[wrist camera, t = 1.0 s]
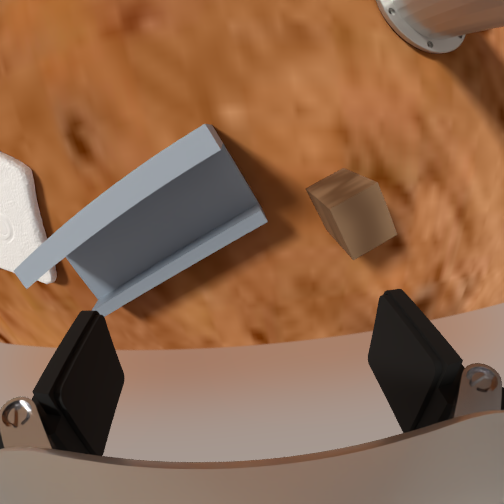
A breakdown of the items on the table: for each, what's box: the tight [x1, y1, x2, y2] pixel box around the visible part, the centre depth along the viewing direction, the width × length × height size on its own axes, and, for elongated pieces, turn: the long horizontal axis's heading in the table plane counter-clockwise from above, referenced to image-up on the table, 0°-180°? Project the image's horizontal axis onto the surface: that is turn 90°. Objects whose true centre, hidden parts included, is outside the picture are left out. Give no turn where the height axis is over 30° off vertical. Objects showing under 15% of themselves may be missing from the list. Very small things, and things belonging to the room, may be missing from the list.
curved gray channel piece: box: [14, 124, 268, 317], centre depth 27 cm, size 20×10×10 cm, turn 120°
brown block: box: [306, 168, 397, 260], centre depth 28 cm, size 4×6×8 cm
